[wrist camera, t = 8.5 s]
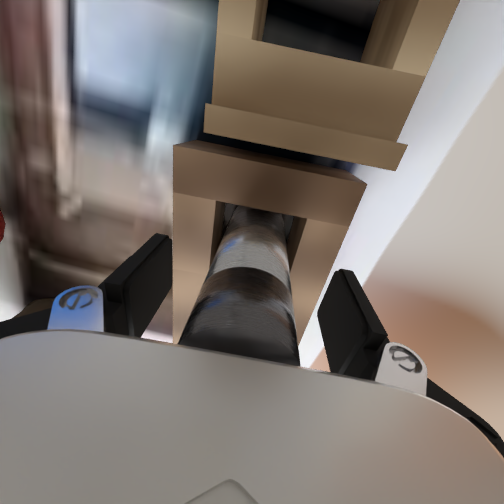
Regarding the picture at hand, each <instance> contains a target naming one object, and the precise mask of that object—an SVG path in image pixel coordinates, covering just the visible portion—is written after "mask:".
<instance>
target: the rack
mask: <svg viewBox="0 0 504 504" xmlns="http://www.w3.org/2000/svg"><path fill="white" fill-rule="evenodd" d="M459 1H460V0H380V2H379V5H378V8H377V11H376V14H375V17H374V20H373V24H372V27H371V30H370V33H369V36H368V39H367V42H366V45H365V48H364V51H363V54H362V57H361V61H360V62H355V61H350V60H346V59H341V58H336V57H332V56H327V55H322V54H317V53H313V52H308V51H303V50H299V49H294V48H289V47H285V46H280V45H275V44H271V43H266V42H262V40H263V33H264V26H265V20H266V13H267V6H268V0H219V8H218V22H217V36H216V49H215V63H214V77H213V90H212V104H207V103H205V118H204V132H205V133H210V134H215V135H219V136H224V137H229V138H234V139H239V140H244V141H249V142H254V143H259V144H264V145H269V146H274V147H279V148H284V149H288V150H293V151H298V152H303V153H308V154H313V155H318V156H323V157H328V158H333V159H338V160H343V161H348V162H352V163H357V164H362V165H367V166H372V167H377V168H382V169H387V170H392V171H396V169H397V167H398V165H399V163H400V161H401V159H402V156H403V154H404V152H405V150H406V148H407V146H408V145H406V144H401V143H397V139H398V137H399V135H400V133H401V130H402V128H403V126H404V124H405V121H406V119H407V117H408V115H409V113H410V110H411V108H412V106H413V104H414V101H415V99H416V97H417V95H418V93H419V90H420V88H421V86H422V84H423V81H424V79H425V77H426V75H427V73H428V70H429V68H430V66H431V64H432V61H433V59H434V57H435V55H436V53H437V50H438V48H439V46H440V44H441V41H442V39H443V37H444V35H445V33H446V30H447V28H448V26H449V24H450V21H451V19H452V17H453V15H454V12H455V10H456V8H457V6H458V4H459Z"/></svg>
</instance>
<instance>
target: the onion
mask: <svg viewBox="0 0 504 504" xmlns="http://www.w3.org/2000/svg"><path fill="white" fill-rule="evenodd" d="M4 230H5V221H4V217H3V214H2V212H1V210H0V242H1V241H2V239H3V237H4Z"/></svg>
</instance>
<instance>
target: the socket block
mask: <svg viewBox="0 0 504 504" xmlns="http://www.w3.org/2000/svg"><path fill="white" fill-rule="evenodd" d="M366 186H367V184H366V183H365V182H363V181H362V180H360V179H358V178H357V177H355V176H354V175H352V174H351V173H349V172H348V171H346V170H342V169H337V168H333V167H328V166H323V165H318V164H313V163H308V162H303V161H298V160H293V159H288V158H283V157H278V156H273V155H268V154H263V153H258V152H253V151H248V150H243V149H239V148H234V147H229V146H224V145H219V144H214V143H209V142H204V141H199V140H194V141H189V142H185V143H180V144H176V145H173V344H178V341H179V339H180V337H181V334H182V332H183V330H184V327H185V325H186V323H187V320H188V318H189V316H190V313H191V311H192V309H193V306H194V304H195V302H196V299H197V297H198V295H199V292H200V290H201V288H202V285H203V283H204V281H205V278H206V276H207V274H208V271H209V269H210V267H211V264H212V262H213V260H214V257H215V255H216V253H217V250H218V248H219V246H220V243H221V237H222V229H223V220H224V212H225V204H226V203H231V204H236V205H241V206H246V207H251V208H256V209H261V210H266V211H271V212H276V213H281V214H287V215H292V216H294V220H293V223H292V227H291V230H290V234H289V237H288V241H287V244H286V248H287V256H288V265H289V274H290V282H291V291H292V299H293V308H294V316H295V325H296V333H297V342H298V345H299V343H300V341H301V338H302V336H303V334H304V331H305V329H306V327H307V324H308V322H309V319H310V317H311V315H312V312H313V310H314V308H315V305H316V303H317V301H318V298H319V296H320V294H321V291H322V289H323V287H324V284H325V282H326V280H327V277H328V275H329V273H330V270H331V268H332V266H333V263H334V261H335V259H336V256H337V254H338V252H339V249H340V247H341V245H342V242H343V240H344V238H345V235H346V233H347V231H348V228H349V226H350V224H351V221H352V219H353V217H354V214H355V212H356V210H357V207H358V205H359V203H360V200H361V198H362V196H363V193H364V191H365V189H366Z"/></svg>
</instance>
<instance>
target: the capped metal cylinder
mask: <svg viewBox="0 0 504 504" xmlns="http://www.w3.org/2000/svg"><path fill="white" fill-rule="evenodd" d="M178 344H179V345H185V346H190V347H196V348H202V349H207V350H213V351H218V352H224V353H229V354H235V355H240V356H246V357H251V358H257V359H262V360H267V361H273V362H278V363H284V364H289V365H294V366H300V359H299V350H298V342H297V333H296V325H295V316H294V308H293V299H292V291H291V282H290V274H289V265H288V256H287V248H286V239H285V231H284V222H283V217H282V214H281V213H276V212H271V211H266V210H261V209H256V208H251V207H246V206H241V205H239V206H238V207H237V208H236V209H235V211H234V213H233V215H232V217H231V220H230V222H229V224H228V227H227V229H226V231H225V234H224V236H223V238H222V241H221V243H220V246H219V248H218V250H217V253H216V255H215V257H214V260H213V262H212V264H211V267H210V269H209V271H208V274H207V276H206V278H205V281H204V283H203V285H202V288H201V290H200V292H199V295H198V297H197V299H196V302H195V304H194V306H193V309H192V311H191V313H190V316H189V318H188V320H187V323H186V325H185V327H184V330H183V332H182V334H181V337H180V339H179V341H178Z"/></svg>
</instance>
